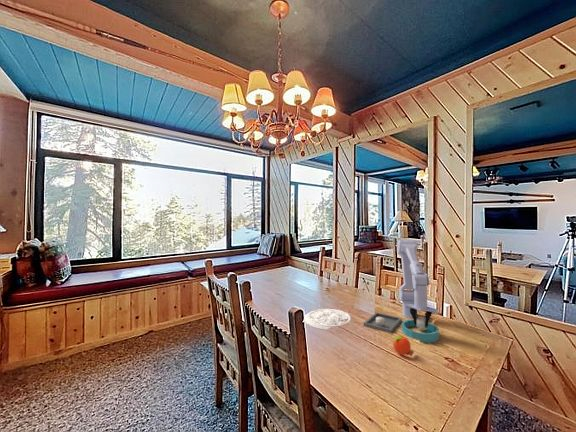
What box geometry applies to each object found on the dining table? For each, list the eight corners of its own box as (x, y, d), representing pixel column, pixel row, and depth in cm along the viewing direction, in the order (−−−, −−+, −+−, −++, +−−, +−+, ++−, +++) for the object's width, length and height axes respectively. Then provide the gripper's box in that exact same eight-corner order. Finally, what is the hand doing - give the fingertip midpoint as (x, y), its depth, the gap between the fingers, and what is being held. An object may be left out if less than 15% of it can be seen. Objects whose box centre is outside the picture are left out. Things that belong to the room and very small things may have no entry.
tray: (376, 316, 149) (376, 312, 149) (401, 322, 140) (401, 318, 140) (363, 327, 135) (363, 322, 135) (391, 335, 126) (390, 330, 126)
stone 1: (377, 323, 138) (377, 316, 138) (385, 325, 135) (385, 317, 135) (374, 326, 134) (374, 318, 134) (383, 328, 132) (382, 320, 132)
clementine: (398, 359, 106) (398, 342, 106) (387, 350, 112) (387, 334, 112) (414, 355, 108) (414, 339, 108) (402, 347, 115) (402, 331, 115)
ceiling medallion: (355, 332, 131) (355, 326, 131) (300, 328, 137) (300, 322, 137) (352, 311, 158) (352, 306, 158) (307, 309, 164) (307, 304, 164)
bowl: (407, 324, 138) (406, 317, 138) (441, 332, 128) (441, 324, 127) (397, 336, 125) (397, 327, 125) (435, 346, 115) (435, 337, 115)
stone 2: (417, 324, 132) (417, 316, 132) (426, 326, 129) (426, 318, 129) (415, 327, 128) (415, 319, 128) (425, 329, 125) (425, 321, 125)
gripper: (403, 297, 130) (403, 324, 130) (435, 303, 121) (436, 332, 121) (406, 293, 136) (407, 319, 136) (438, 299, 126) (438, 326, 126)
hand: (421, 325), depth 129 cm, fingers closed on stone 2, 4 cm apart
